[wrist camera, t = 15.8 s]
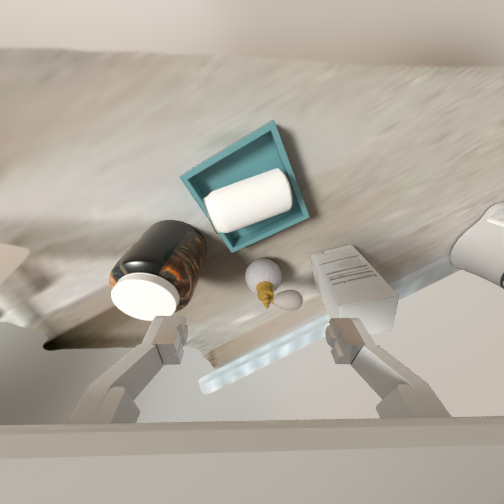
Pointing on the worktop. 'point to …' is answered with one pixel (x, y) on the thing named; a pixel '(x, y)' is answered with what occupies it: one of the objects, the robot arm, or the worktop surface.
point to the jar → (159, 271)
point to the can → (249, 201)
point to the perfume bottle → (270, 285)
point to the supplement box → (354, 289)
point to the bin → (240, 168)
